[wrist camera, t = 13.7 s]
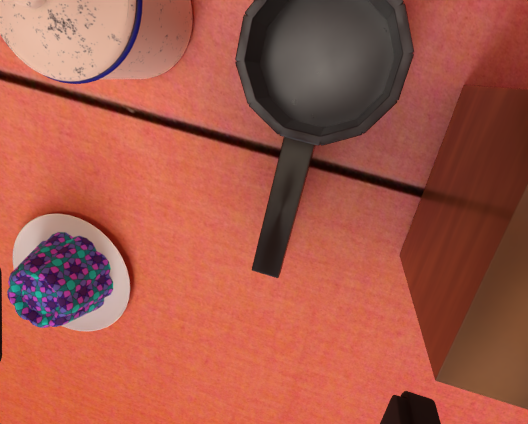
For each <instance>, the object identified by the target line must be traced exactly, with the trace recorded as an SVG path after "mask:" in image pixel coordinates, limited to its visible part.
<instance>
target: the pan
mask: <svg viewBox="0 0 528 424" xmlns="http://www.w3.org/2000/svg"><path fill="white" fill-rule="evenodd" d="M403 2H404V1H403V0H254V2H253V3H252V4H251V5H250V7H249V8H248V9H247V10H246V12H245V14H246V15H244V16H243V22H242V27H241V32H240V38H239V43H238V48H237V54H236V59H235V60H236V66H237V69H238V73H239V76H240V79H241V83H242V86H243V89H244V93H245V96H246V99H247V103H248V104H249V106H250V107H251V108H252V109H253V110H254V111H255V112H256V113H257V114H258V115H259V116H260V117H261V118H262V119H263V120H264V121H265V122H266V123H267V124H268V125H269V126H270V127H271V128H272V129H273V130H274V131H275V132H276V133H277V134H280V136H284V139H283V143H282V147H281V151H280V156H279V160H278V164H277V168H276V172H275V176H274V180H273V184H272V188H271V192H270V197H269V201H268V205H267V209H266V213H265V217H264V221H263V225H262V229H261V233H260V238H259V242H258V246H257V250H256V254H255V258H254V262H253V266H252V270H253V271H256V272H259V273H263V274H266V275H269V276H272V277H276V278H278V277H279V275H280V272H281V269H282V265H283V262H284V258H285V254H286V251H287V247H288V243H289V240H290V236H291V233H292V229H293V225H294V222H295V218H296V214H297V211H298V207H299V203H300V200H301V196H302V192H303V189H304V185H305V181H306V178H307V174H308V170H309V167H310V163H311V159H312V156H313V152H314V148H315V145H318V146H319V145H321V146H322V145H326V144H330V143H333V142H337V141H341V140H345V139H348V138H352V137H356V136H359V135H362V133H365V132H366V131H367V130H368V129H370V128H371V127H372V126H373V125H374V124H375V123H376V122H377V121H378V120H379V119H380V118H381V117H382V116H383V115H384V114H385V113H386V112H387V111H388V110H389V109H391V108H392V107H393V106H394V105H395V104H396V103H397V101H396V100H399V97H400V94H401V91H402V88H403V85H404V82H405V79H406V76H407V73H408V70H409V67H410V64H411V61H412V58H413V55H414V54H413V52H414V49H413V44H412V38H411V33H410V28H409V23H408V17H407V12H406V7H405V4H403Z"/></svg>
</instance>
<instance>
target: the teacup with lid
mask: <svg viewBox="0 0 528 424" xmlns="http://www.w3.org/2000/svg"><path fill="white" fill-rule="evenodd" d="M192 22H193V15H192V6H191V1H190V0H0V35H1V36H2V38H3V39H4V41H5V42H6V44H7V45H8V46H9V48H10V49H11V50H12V51H13V52H14V53H15V54H16V55H17V57H19V58H20V59H21V60H22V61H23V62H24V63H25V64H26V65H28V66H29V67H30V68H32V69H33V70H35V71H37V72H38V73H40V74H42V75H44V76H46V77H48V78H51V79H53V80H56V81H59V82H64V83H71V84H81V83H88V82H92V81H96V80H98V79H148V78H153V77H156V76H159V75H161V74H163V73H165V72H167V71H168V70H170V69H171V68H172V67H173V66H174V65H175V64H176V63H177V62H178V61H179V60H180V58H181V57H182V55H183V54H184V52H185V50H186V48H187V46H188V43H189V40H190V36H191V31H192Z"/></svg>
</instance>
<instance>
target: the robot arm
mask: <svg viewBox="0 0 528 424" xmlns="http://www.w3.org/2000/svg"><path fill="white" fill-rule="evenodd" d="M1 358H2V280H1V269H0V361H1ZM380 424H441V423H440V420H439V416H438V412H437V408H436V405H435V402H434V401H433V400H432V399H429V398H426V397H423V396H420V395H417V394H414V393H411V392H408V391H404V392H403V393H402V395H401V397H400V396H397V395H393V396H392V398H391V400H390V402H389V404H388V407H387V409H386V411H385V413H384V416H383V418H382V420H381V423H380Z"/></svg>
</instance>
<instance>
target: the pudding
mask: <svg viewBox="0 0 528 424" xmlns="http://www.w3.org/2000/svg"><path fill="white" fill-rule="evenodd" d="M13 266H14V271H13V272H12V273H11V275H10V277H9V281H8V282H9V286H10V288H9V289H8V291H7V292H8V298H9V300H10V302H11V303H12V304H13V305H14V306H15V310H16V312H17V314H18V315H19V316H20V317H21V318H23V319H26V320H29V321H30V322H31V323H32V324H33V325H35V326H37V327H42V328H45V327H49V326H52V327H57V326H63V327H66V328H69V329H73V330H78V331H95V330H100V329H103V328H105V327H108V326H110V325H111V324H113V323H114V322H116V321H117V320H118V319H119V317H120V316H121V315H122V314H123V312H124V310H125V309H126V306H127V304H128V301H129V295H130V279H129V275H128V271H127V267H126V265H125V263H124V260H123V258H122V256H121V255H120V253H119V251H118V250H117V248H116V247H115V245H114V244H113V243H112V242H111V241H110V239H109V238H108V237H107V236H106V235H104V234H103V233H102V232H101V231H100V230H99V229H97V228H96V227H94V226H93V225H92V224H90V223H88V222H86V221H84V220H82V219H80V218H77V217H74V216H70V215H65V214H47V215H43V216H39V217H37V218H35V219H33V220H31V221H30V222H29V223H27V224H26V225H25V226H24V227H23V228H22V230H21V231H20V232H19V234H18V236H17V238H16V241H15V243H14V249H13Z"/></svg>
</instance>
